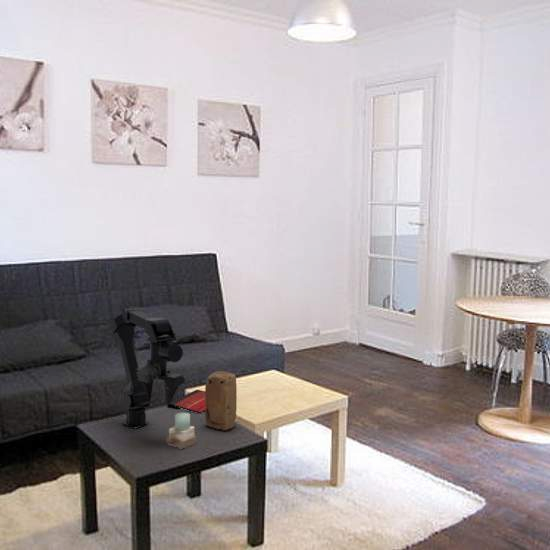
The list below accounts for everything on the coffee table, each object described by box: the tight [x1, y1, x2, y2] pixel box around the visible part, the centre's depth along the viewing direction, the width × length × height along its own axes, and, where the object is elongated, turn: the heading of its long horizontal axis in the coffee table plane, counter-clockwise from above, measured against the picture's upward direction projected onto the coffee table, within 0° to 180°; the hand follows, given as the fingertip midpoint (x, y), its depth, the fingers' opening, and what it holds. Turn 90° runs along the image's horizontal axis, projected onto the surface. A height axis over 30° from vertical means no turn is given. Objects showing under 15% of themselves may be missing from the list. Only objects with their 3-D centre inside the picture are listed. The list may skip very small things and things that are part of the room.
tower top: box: [168, 425, 195, 441], centre depth 215 cm, size 6×6×3 cm
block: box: [204, 370, 238, 431], centre depth 230 cm, size 11×8×20 cm
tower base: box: [166, 434, 197, 448], centre depth 215 cm, size 7×7×3 cm
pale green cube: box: [174, 412, 191, 431], centre depth 214 cm, size 5×5×4 cm
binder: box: [166, 389, 206, 414], centre depth 257 cm, size 16×2×21 cm
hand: (158, 400), depth 219 cm, fingers open, 9 cm apart
